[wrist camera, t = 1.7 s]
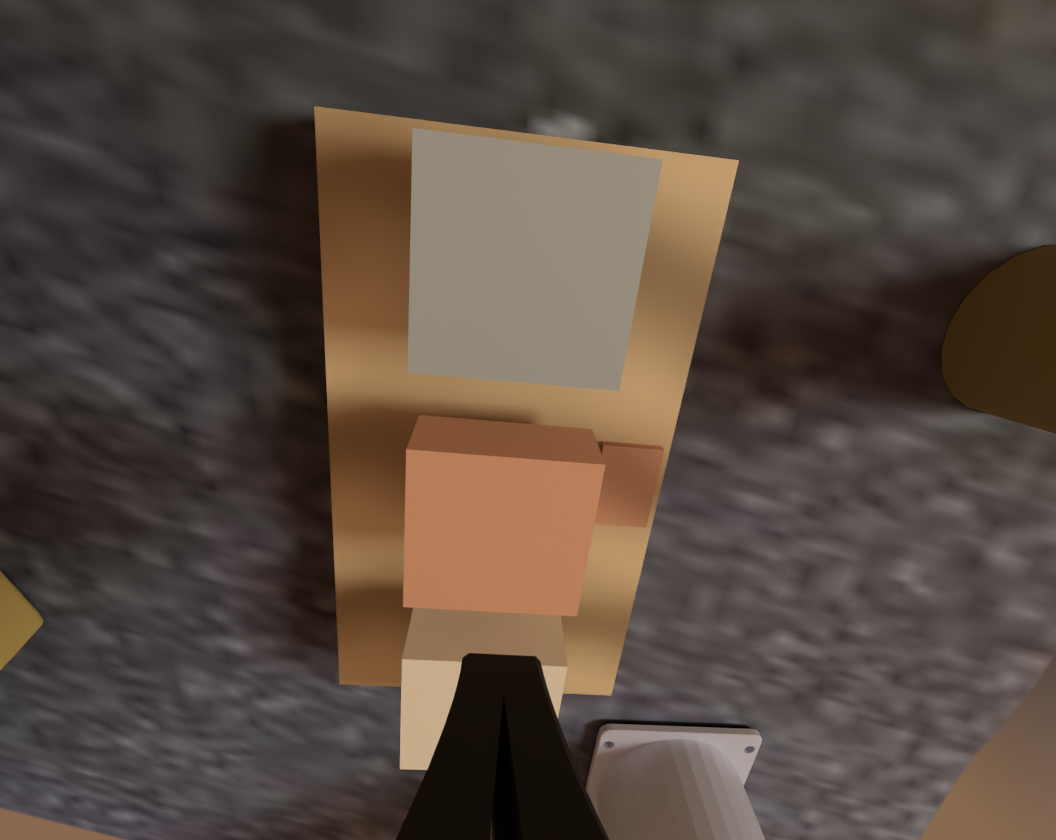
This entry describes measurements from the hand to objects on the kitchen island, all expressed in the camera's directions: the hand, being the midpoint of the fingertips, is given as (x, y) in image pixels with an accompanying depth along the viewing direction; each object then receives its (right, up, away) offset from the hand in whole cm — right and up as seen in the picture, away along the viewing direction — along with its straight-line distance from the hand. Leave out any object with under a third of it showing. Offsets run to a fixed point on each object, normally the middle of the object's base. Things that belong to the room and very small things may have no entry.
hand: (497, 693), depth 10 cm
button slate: (0, +9, +4) cm, 10 cm away
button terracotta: (0, +3, +6) cm, 7 cm away
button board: (0, +4, +10) cm, 10 cm away
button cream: (-1, -4, +9) cm, 10 cm away
